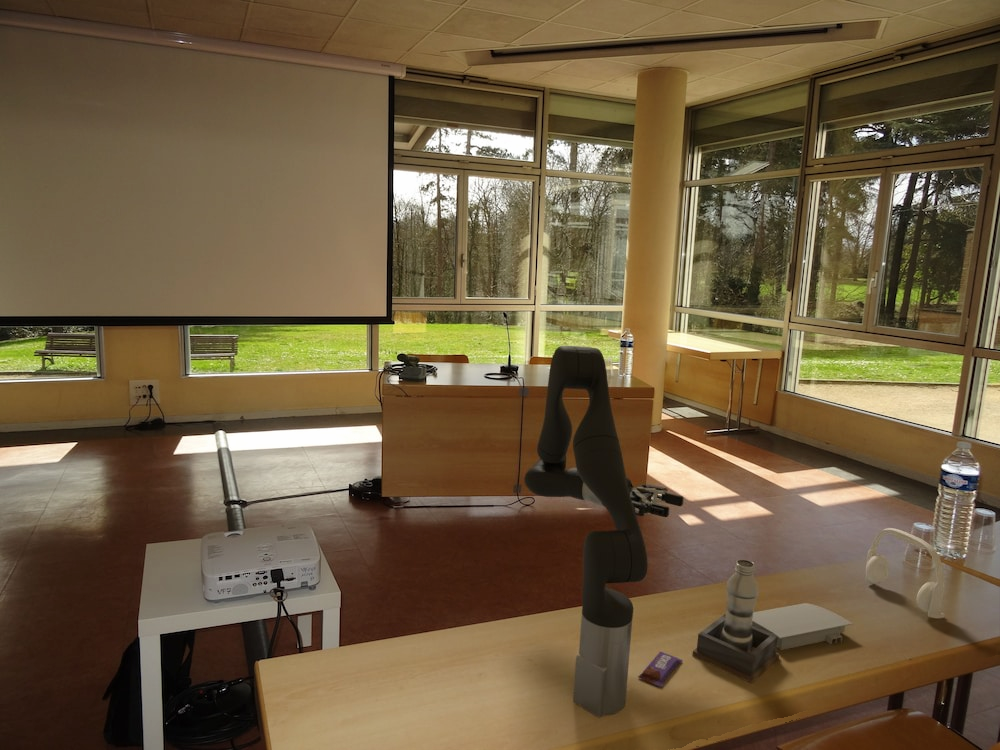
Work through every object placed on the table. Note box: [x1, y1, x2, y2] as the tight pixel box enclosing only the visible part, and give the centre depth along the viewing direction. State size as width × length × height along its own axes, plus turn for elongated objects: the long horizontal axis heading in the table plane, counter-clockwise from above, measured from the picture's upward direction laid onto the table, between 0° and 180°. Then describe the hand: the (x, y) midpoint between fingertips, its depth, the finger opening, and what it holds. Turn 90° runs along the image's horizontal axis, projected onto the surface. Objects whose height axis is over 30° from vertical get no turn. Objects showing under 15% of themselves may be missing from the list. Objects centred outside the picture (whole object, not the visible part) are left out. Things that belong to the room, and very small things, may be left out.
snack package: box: [637, 651, 683, 688], centre depth 142 cm, size 12×2×5 cm
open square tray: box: [692, 613, 780, 684], centre depth 147 cm, size 13×13×5 cm
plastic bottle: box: [721, 559, 760, 653], centre depth 146 cm, size 6×7×20 cm
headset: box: [865, 527, 946, 619], centre depth 174 cm, size 20×7×18 cm, turn 19°
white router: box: [752, 602, 853, 651], centre depth 159 cm, size 15×23×4 cm, turn 111°
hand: (675, 506), depth 150 cm, fingers open, 8 cm apart
